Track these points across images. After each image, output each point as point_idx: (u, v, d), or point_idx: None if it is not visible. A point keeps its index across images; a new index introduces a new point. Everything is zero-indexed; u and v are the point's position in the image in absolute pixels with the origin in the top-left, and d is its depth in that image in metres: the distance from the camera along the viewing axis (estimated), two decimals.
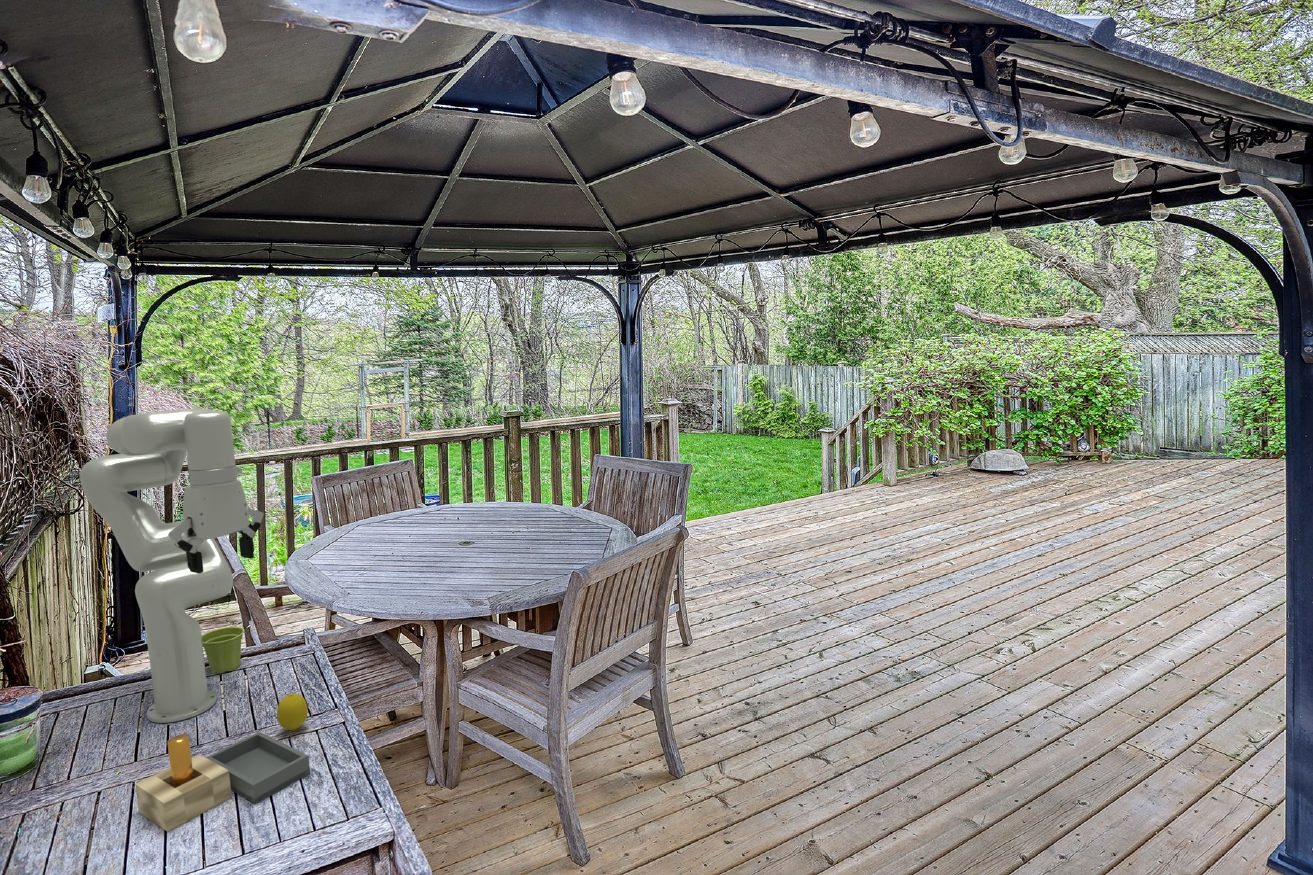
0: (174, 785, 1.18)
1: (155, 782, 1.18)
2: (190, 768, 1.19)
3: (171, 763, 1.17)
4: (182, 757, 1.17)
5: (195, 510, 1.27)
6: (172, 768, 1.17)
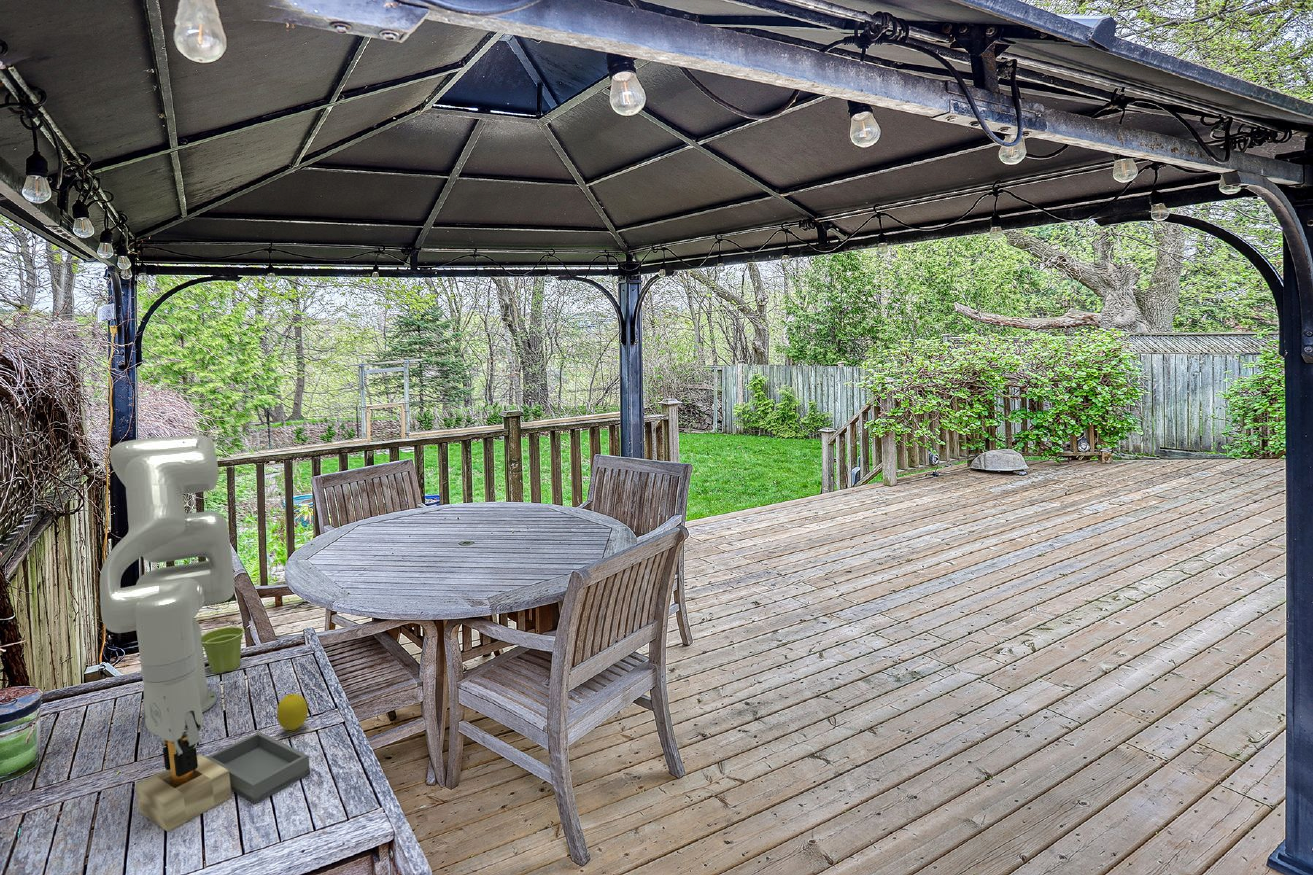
0: (174, 785, 1.18)
1: (155, 782, 1.18)
2: None
3: (171, 763, 1.17)
4: None
5: (197, 699, 1.16)
6: (172, 768, 1.17)
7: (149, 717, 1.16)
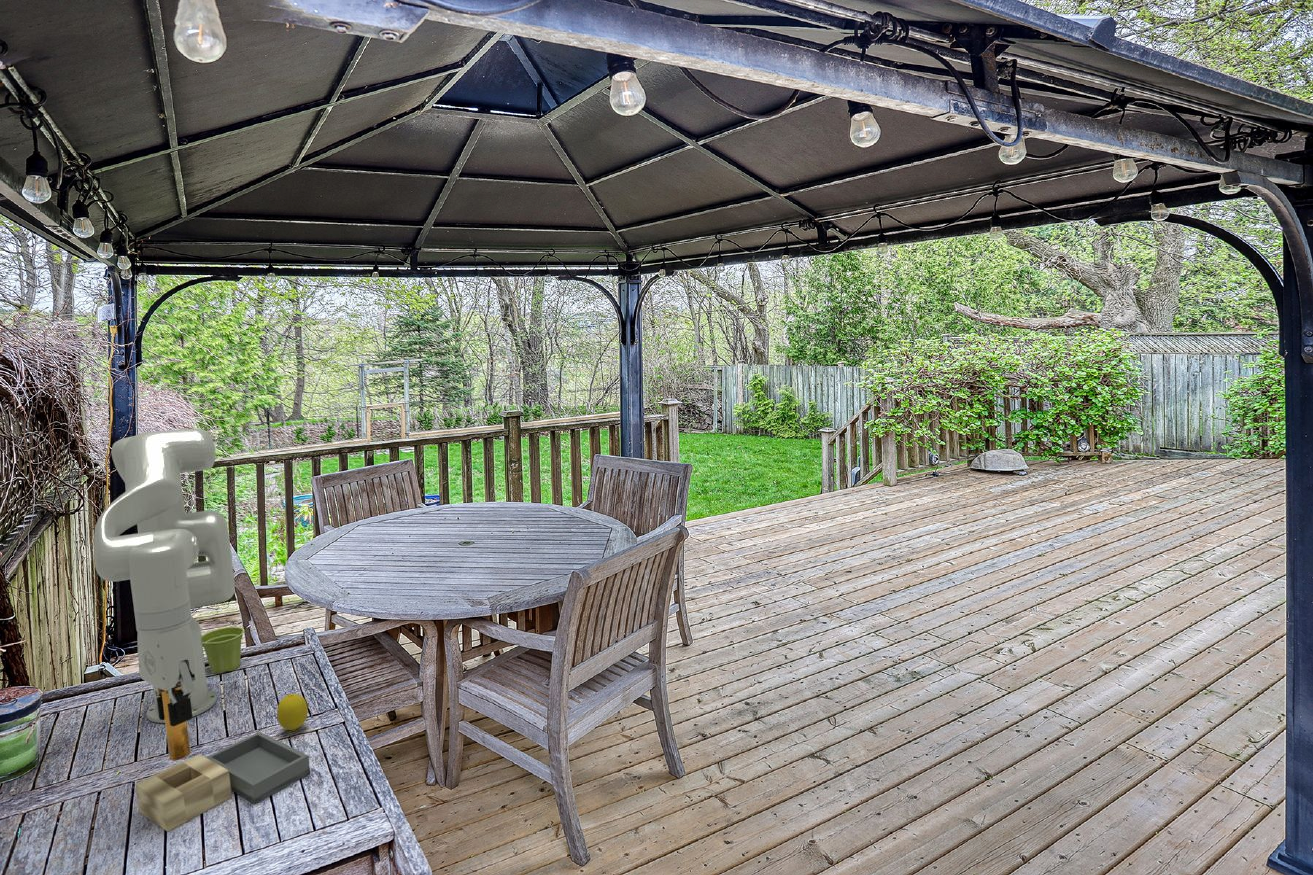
0: (168, 735, 1.17)
1: (155, 782, 1.18)
2: None
3: (165, 713, 1.16)
4: None
5: (191, 648, 1.15)
6: (166, 718, 1.16)
7: (143, 666, 1.15)
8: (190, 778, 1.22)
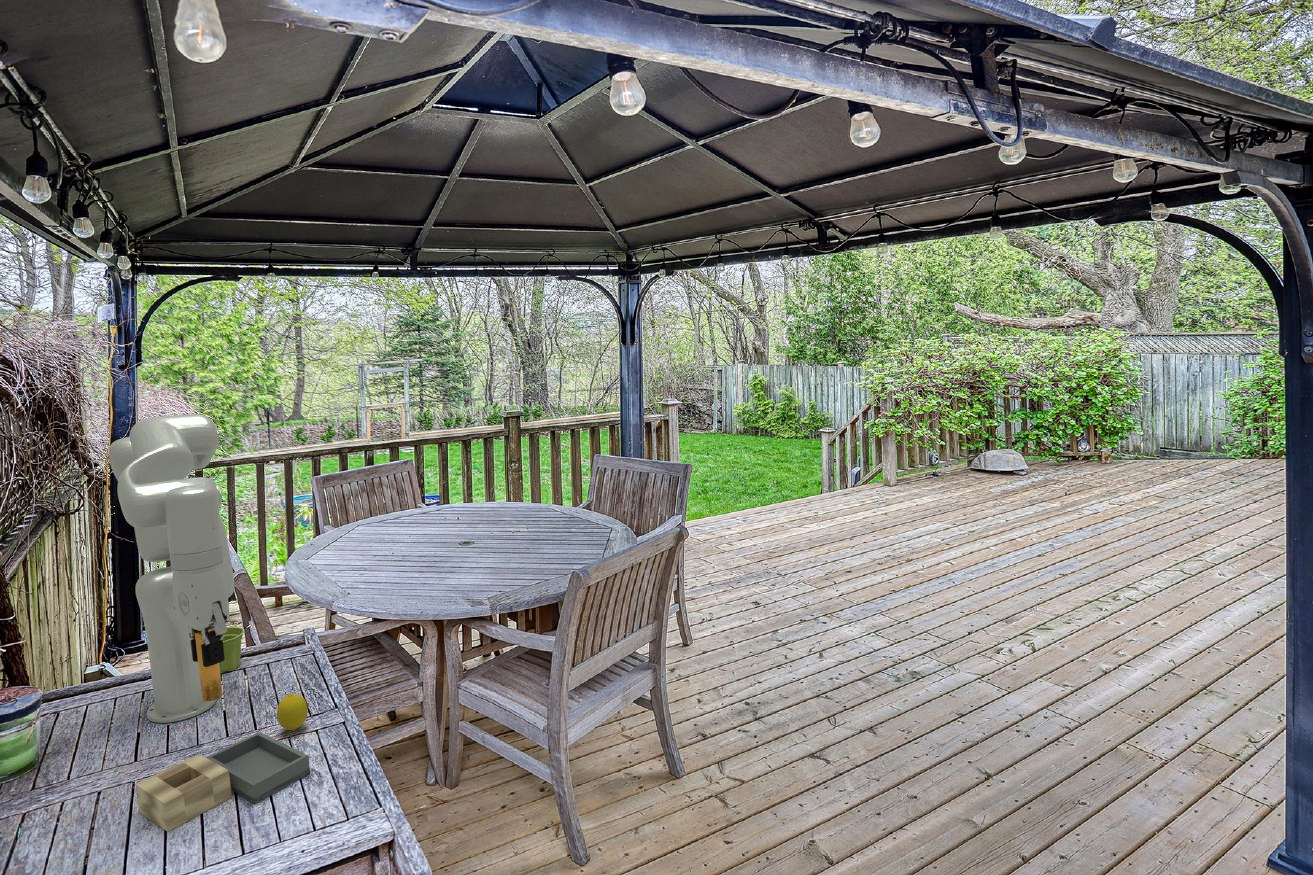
0: (201, 676, 1.19)
1: (155, 782, 1.18)
2: None
3: (198, 654, 1.19)
4: None
5: (224, 590, 1.17)
6: (199, 659, 1.19)
7: (177, 608, 1.18)
8: (190, 778, 1.22)
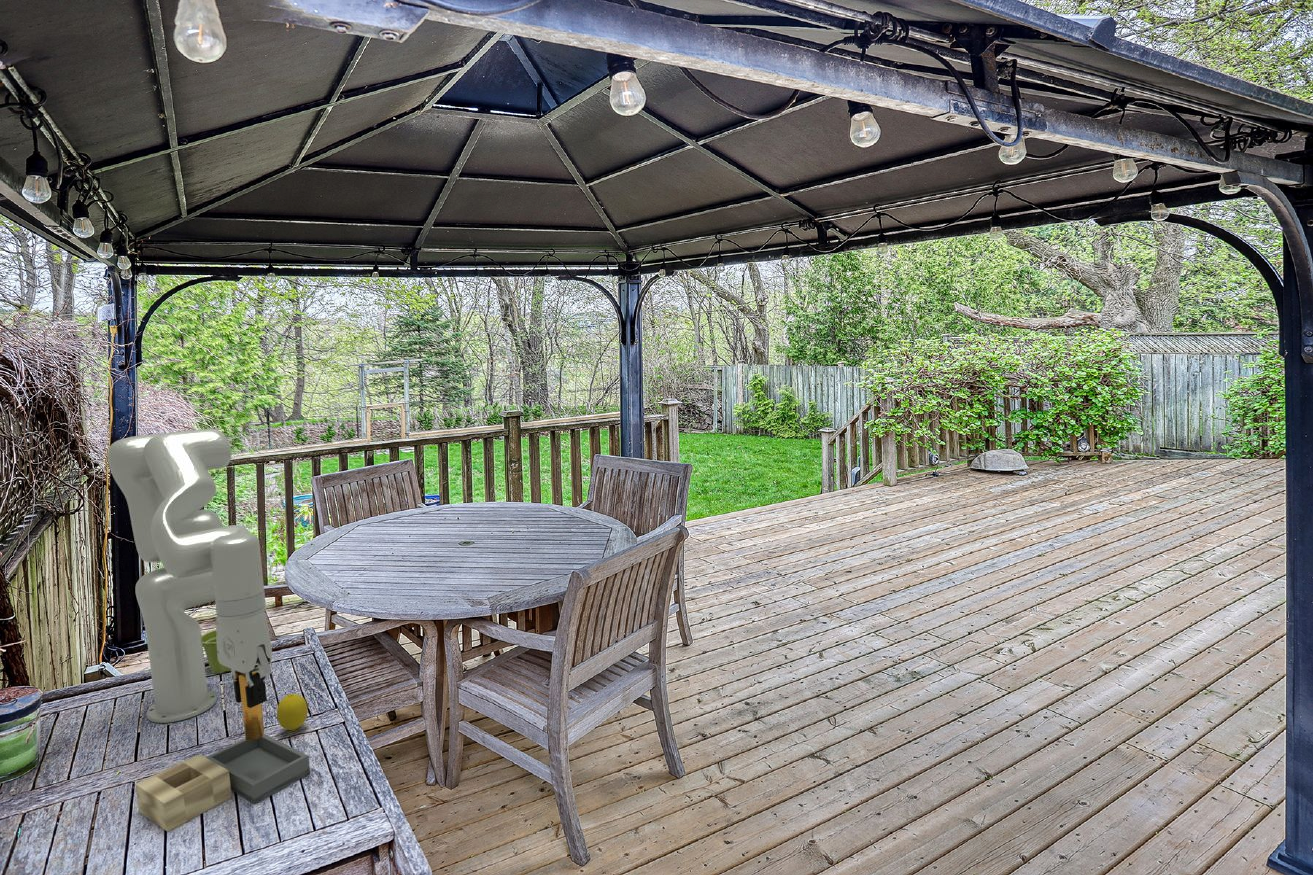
0: (245, 716, 1.24)
1: (155, 782, 1.18)
2: None
3: (242, 695, 1.24)
4: None
5: (267, 634, 1.23)
6: (243, 700, 1.24)
7: (222, 651, 1.23)
8: (190, 778, 1.22)
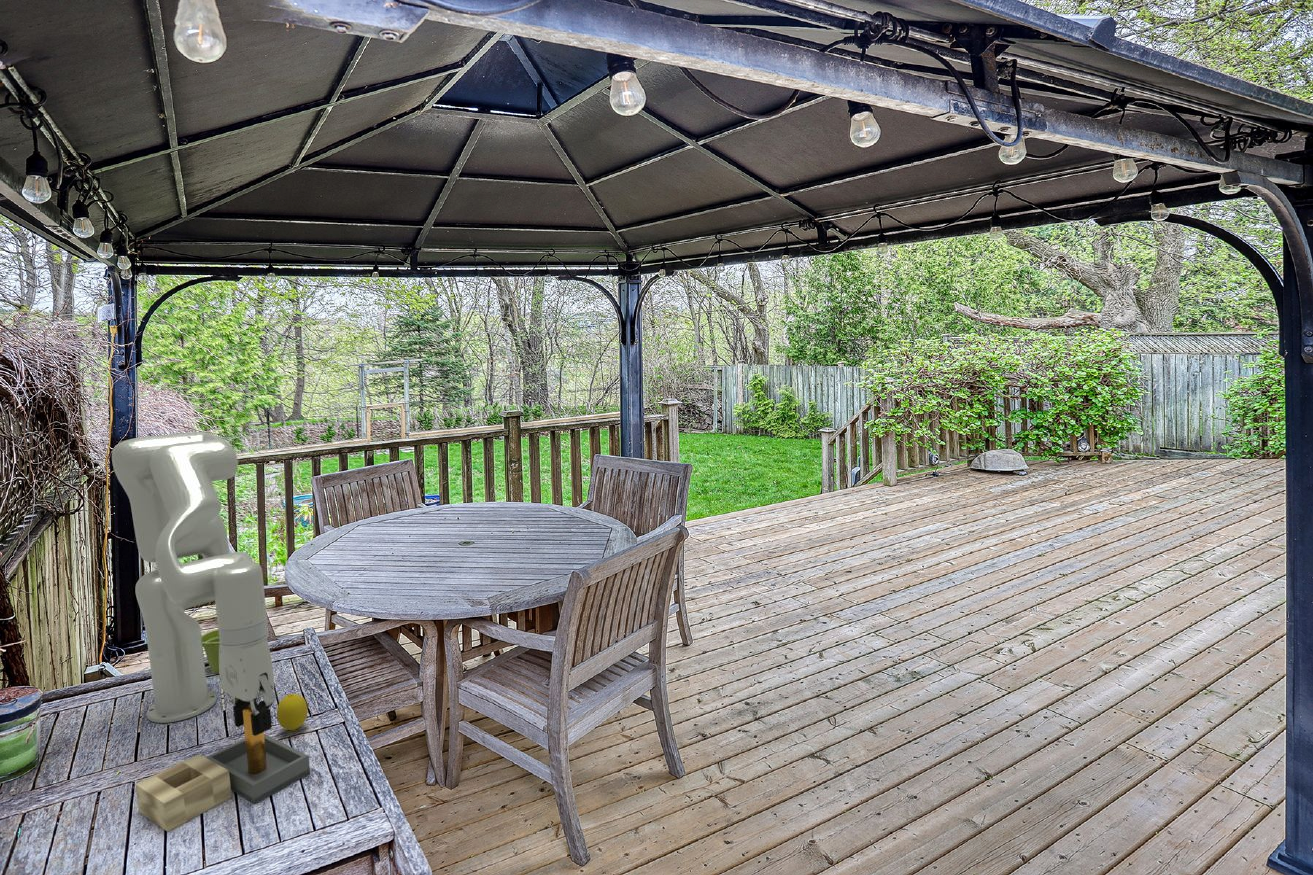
0: (248, 751, 1.25)
1: (155, 782, 1.18)
2: (262, 735, 1.26)
3: (246, 730, 1.25)
4: None
5: (270, 662, 1.23)
6: (247, 735, 1.25)
7: (224, 679, 1.24)
8: (190, 778, 1.22)
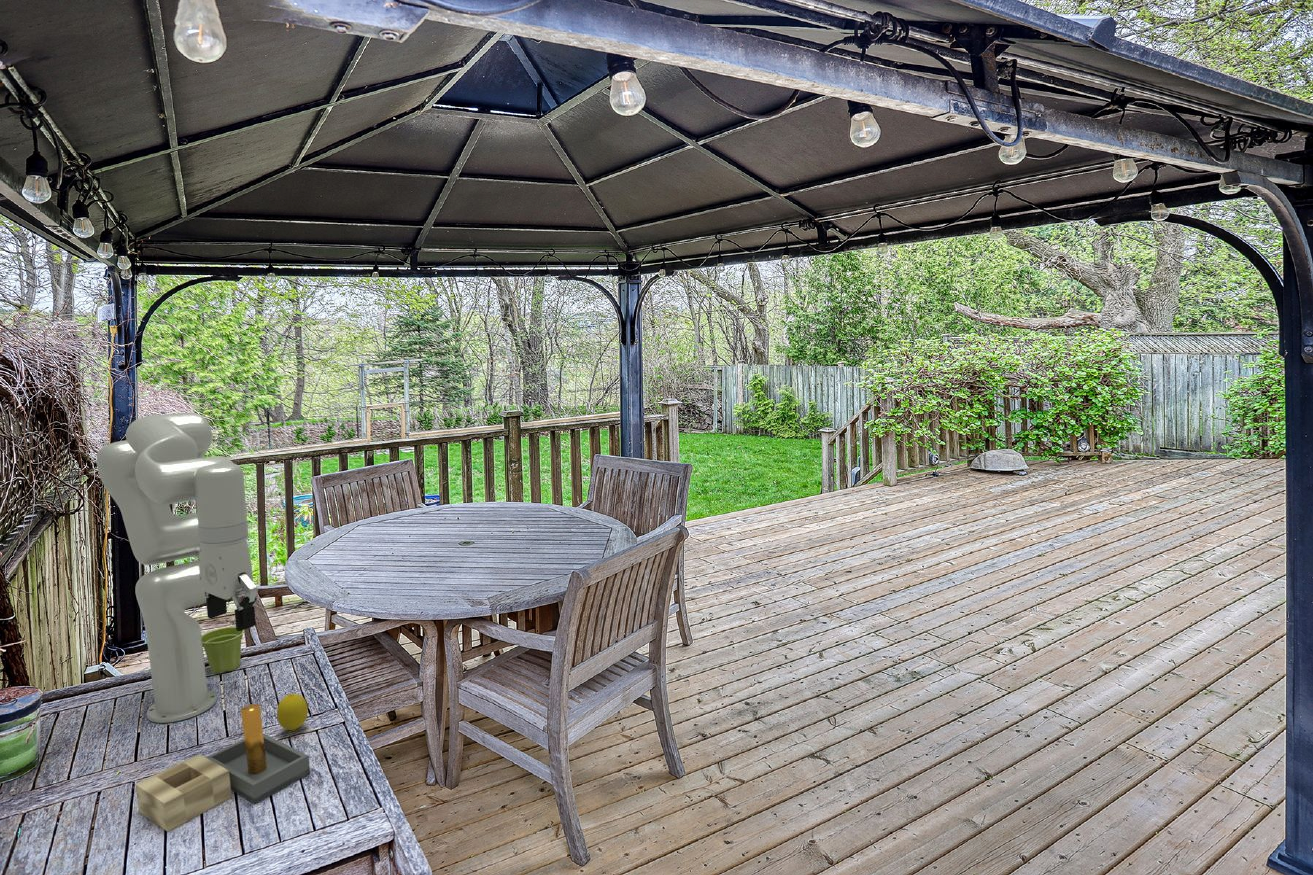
0: (247, 751, 1.25)
1: (155, 782, 1.18)
2: (261, 735, 1.26)
3: (244, 730, 1.25)
4: (255, 725, 1.25)
5: (249, 563, 1.25)
6: (245, 735, 1.25)
7: (204, 578, 1.26)
8: (190, 778, 1.22)
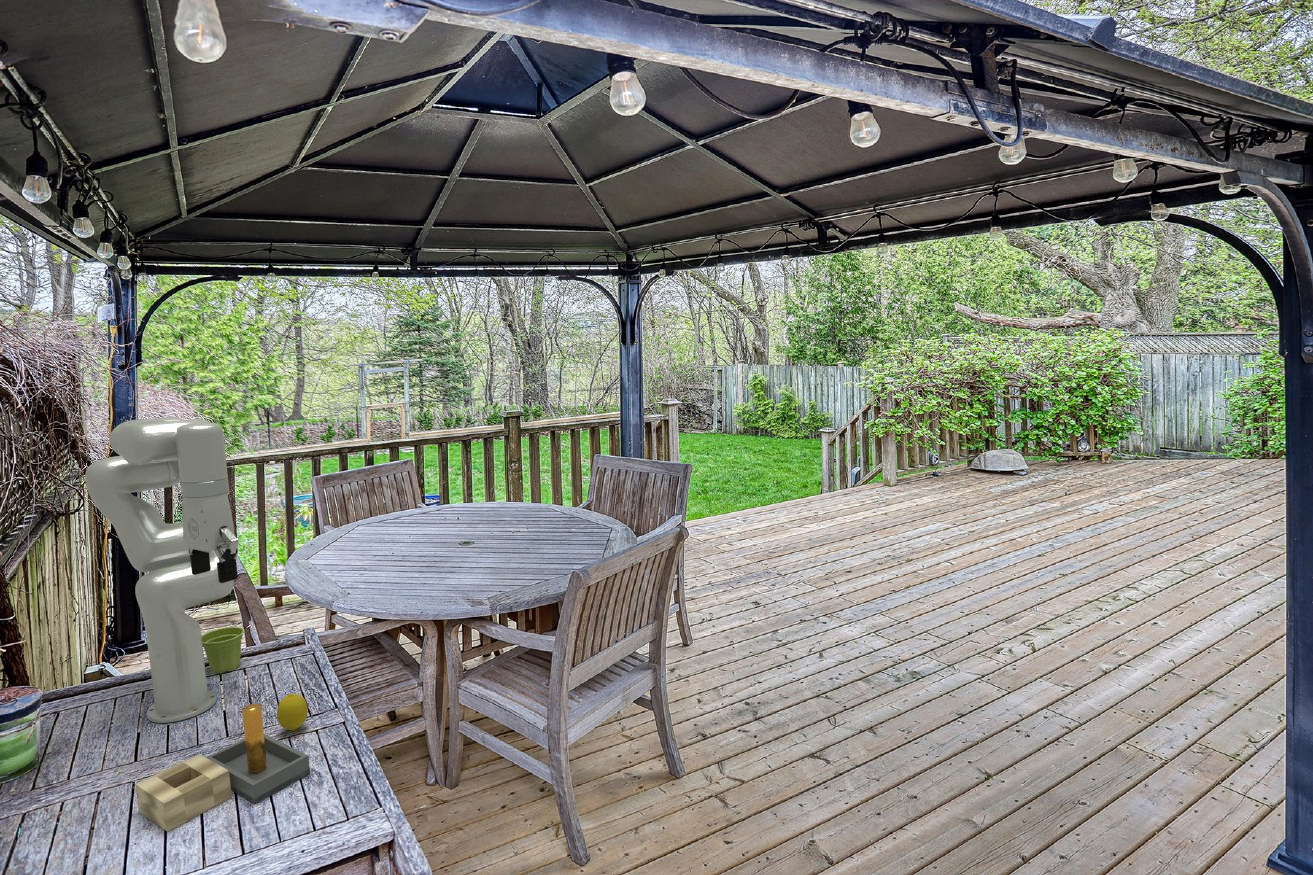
0: (248, 750, 1.25)
1: (155, 782, 1.18)
2: (262, 735, 1.27)
3: (245, 730, 1.25)
4: (256, 724, 1.25)
5: (230, 517, 1.30)
6: (246, 734, 1.25)
7: (187, 534, 1.31)
8: (190, 778, 1.22)
